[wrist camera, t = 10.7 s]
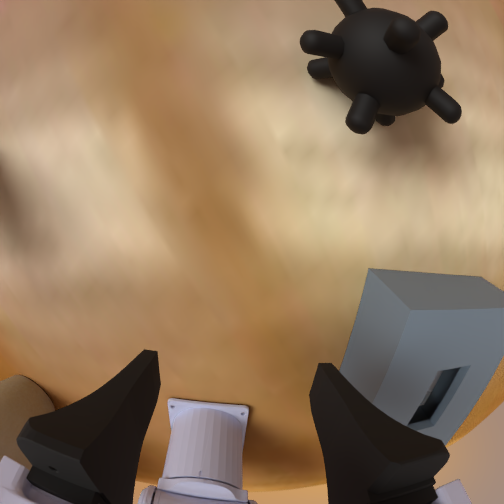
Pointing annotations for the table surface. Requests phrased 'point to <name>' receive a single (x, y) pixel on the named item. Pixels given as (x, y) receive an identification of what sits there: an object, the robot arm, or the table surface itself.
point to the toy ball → (382, 64)
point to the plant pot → (19, 413)
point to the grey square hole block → (425, 346)
